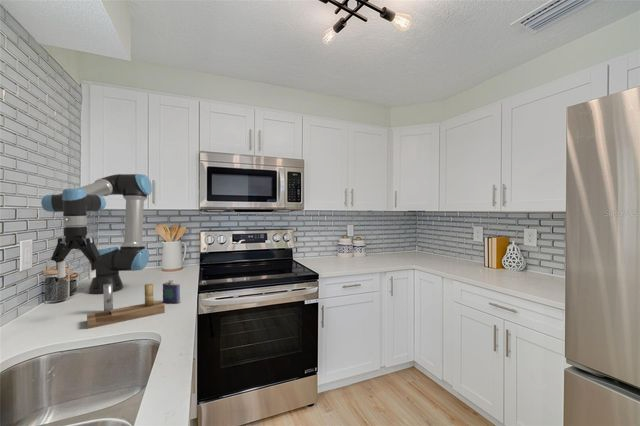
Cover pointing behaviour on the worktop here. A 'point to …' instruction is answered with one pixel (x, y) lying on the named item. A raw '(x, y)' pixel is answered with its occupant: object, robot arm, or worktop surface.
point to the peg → (108, 297)
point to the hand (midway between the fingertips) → (76, 277)
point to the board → (127, 311)
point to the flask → (171, 293)
